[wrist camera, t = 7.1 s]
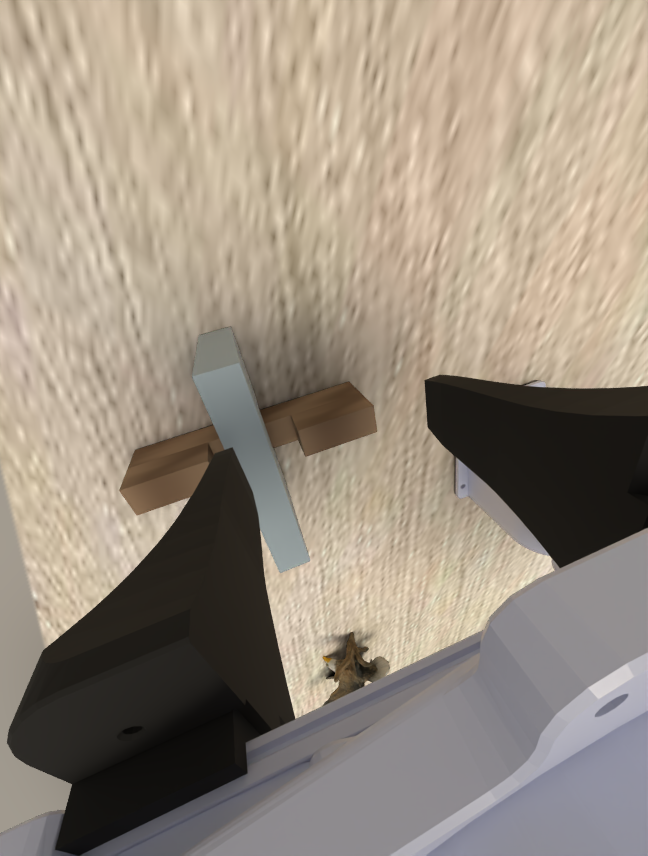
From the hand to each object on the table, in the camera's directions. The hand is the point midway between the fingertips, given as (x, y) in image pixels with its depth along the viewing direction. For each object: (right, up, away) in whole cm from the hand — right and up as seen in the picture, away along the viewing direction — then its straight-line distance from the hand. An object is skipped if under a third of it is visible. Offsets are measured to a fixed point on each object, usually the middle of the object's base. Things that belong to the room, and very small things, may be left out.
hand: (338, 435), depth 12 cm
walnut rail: (-5, 0, +10) cm, 11 cm away
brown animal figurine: (+1, -26, +26) cm, 37 cm away
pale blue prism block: (-5, +1, +10) cm, 11 cm away
